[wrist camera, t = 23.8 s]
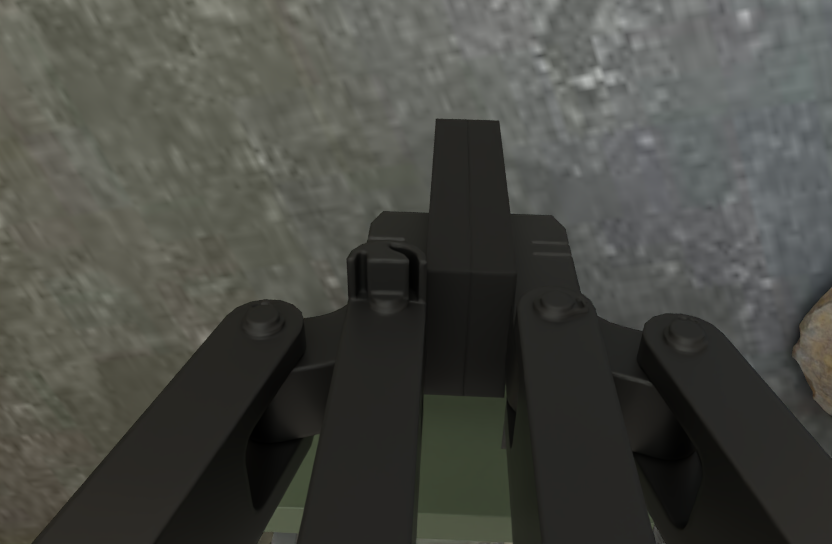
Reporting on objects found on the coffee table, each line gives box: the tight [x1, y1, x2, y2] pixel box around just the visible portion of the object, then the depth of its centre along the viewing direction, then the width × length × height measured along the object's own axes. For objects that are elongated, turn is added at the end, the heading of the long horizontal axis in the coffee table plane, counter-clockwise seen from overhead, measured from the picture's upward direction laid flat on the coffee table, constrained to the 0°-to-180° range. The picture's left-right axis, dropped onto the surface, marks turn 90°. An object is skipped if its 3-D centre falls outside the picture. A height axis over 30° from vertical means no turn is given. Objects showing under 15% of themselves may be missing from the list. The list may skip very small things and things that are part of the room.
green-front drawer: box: [264, 385, 654, 544], centre depth 28 cm, size 18×12×9 cm
